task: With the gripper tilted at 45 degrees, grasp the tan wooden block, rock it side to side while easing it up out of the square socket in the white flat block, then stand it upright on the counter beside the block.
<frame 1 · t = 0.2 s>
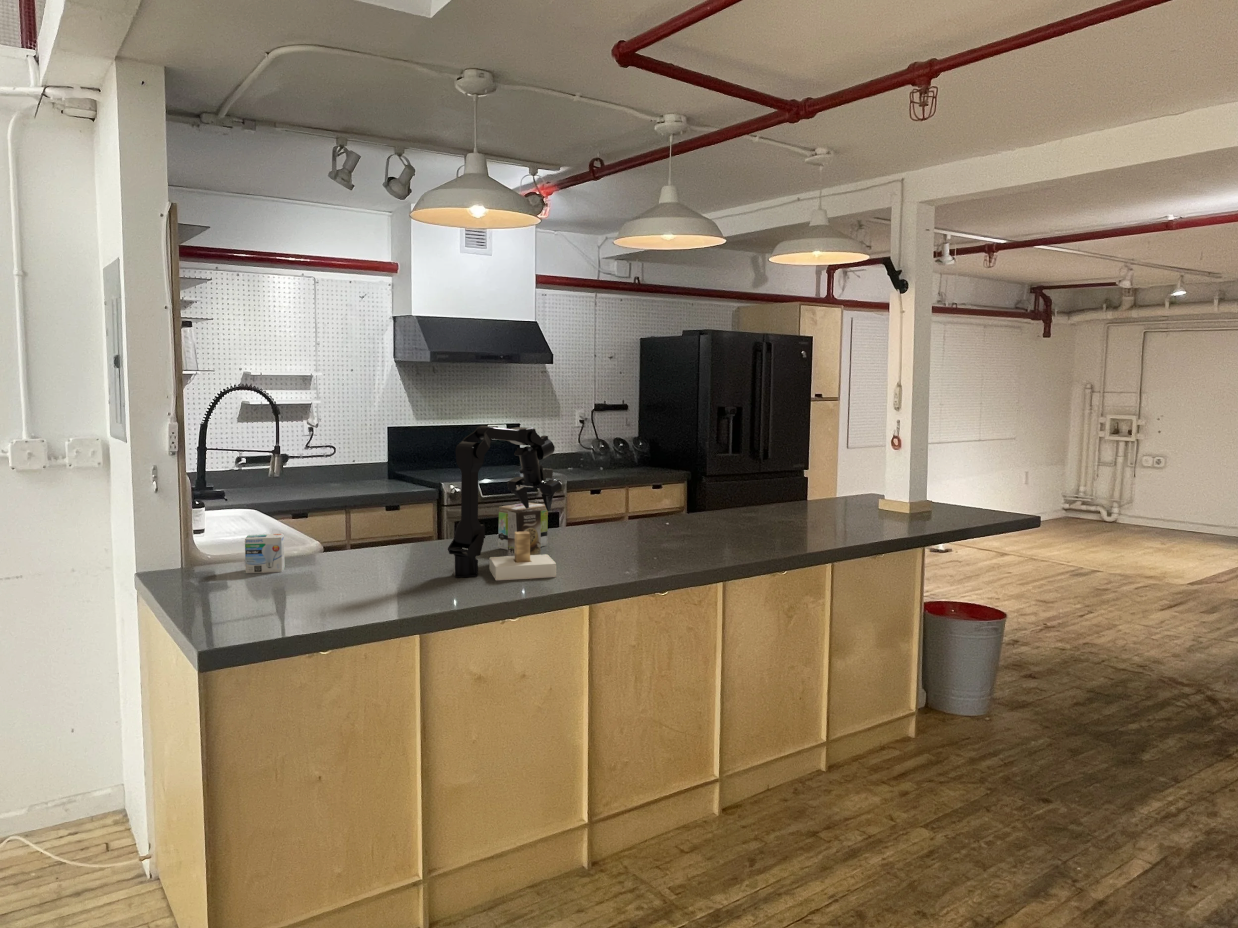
hand: (538, 509, 292), 16 cm above the countertop, tool pointing down, fingers open, 9 cm apart
coffee box: (524, 559, 288), on the countertop
light bulb box: (265, 571, 270), on the countertop
tan wooden block: (522, 553, 267), in the white flat block
white flat block: (522, 573, 268), on the countertop
tea box: (523, 547, 308), on the countertop
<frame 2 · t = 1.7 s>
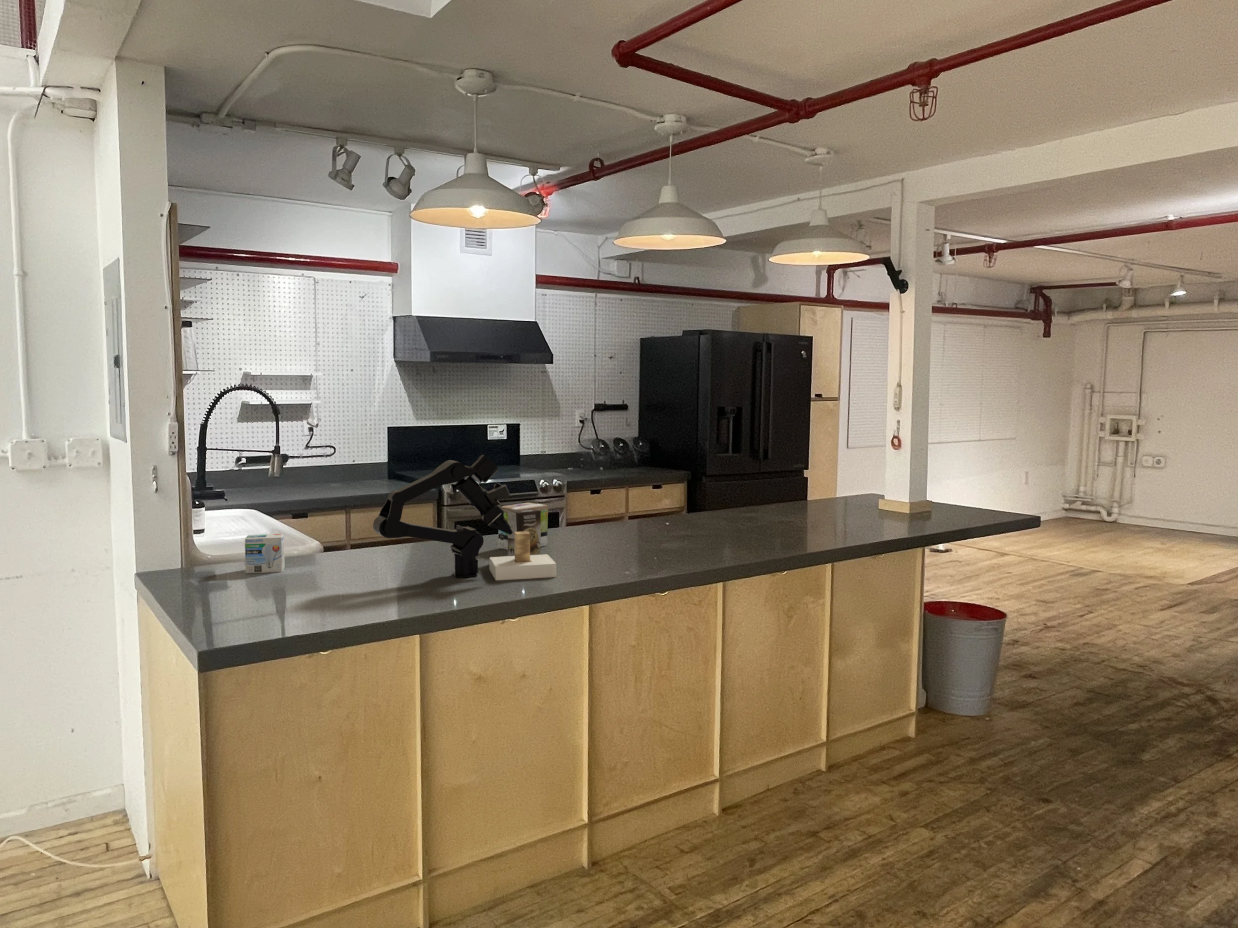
hand: (510, 531, 267), 13 cm above the countertop, tool tilted 45°, fingers open, 9 cm apart
nothing on the countertop moved.
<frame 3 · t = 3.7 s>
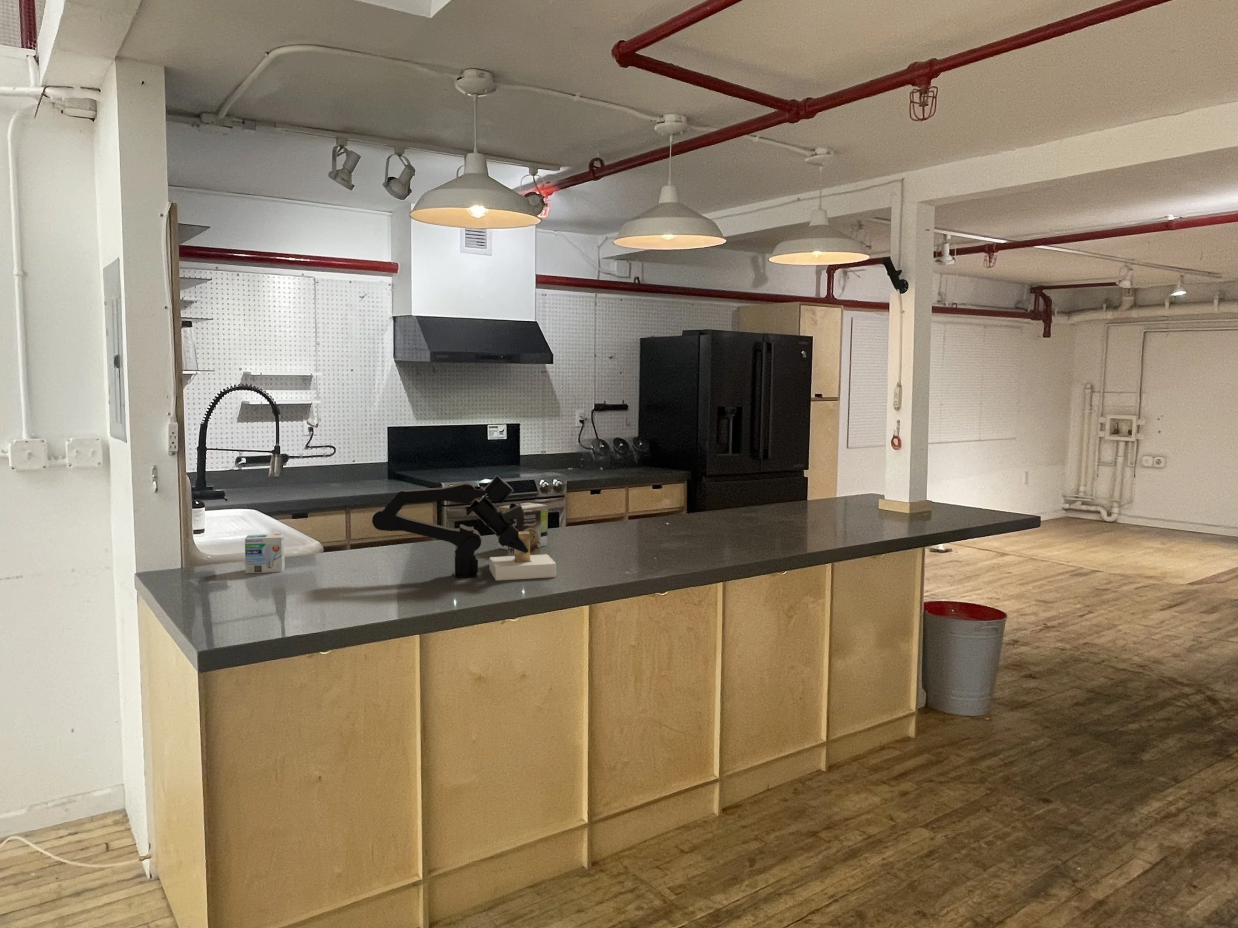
hand: (527, 550, 268), 7 cm above the countertop, tool tilted 45°, fingers closed on tan wooden block, 4 cm apart
tan wooden block: (522, 553, 267), in the white flat block, touching gripper
everything else where it was.
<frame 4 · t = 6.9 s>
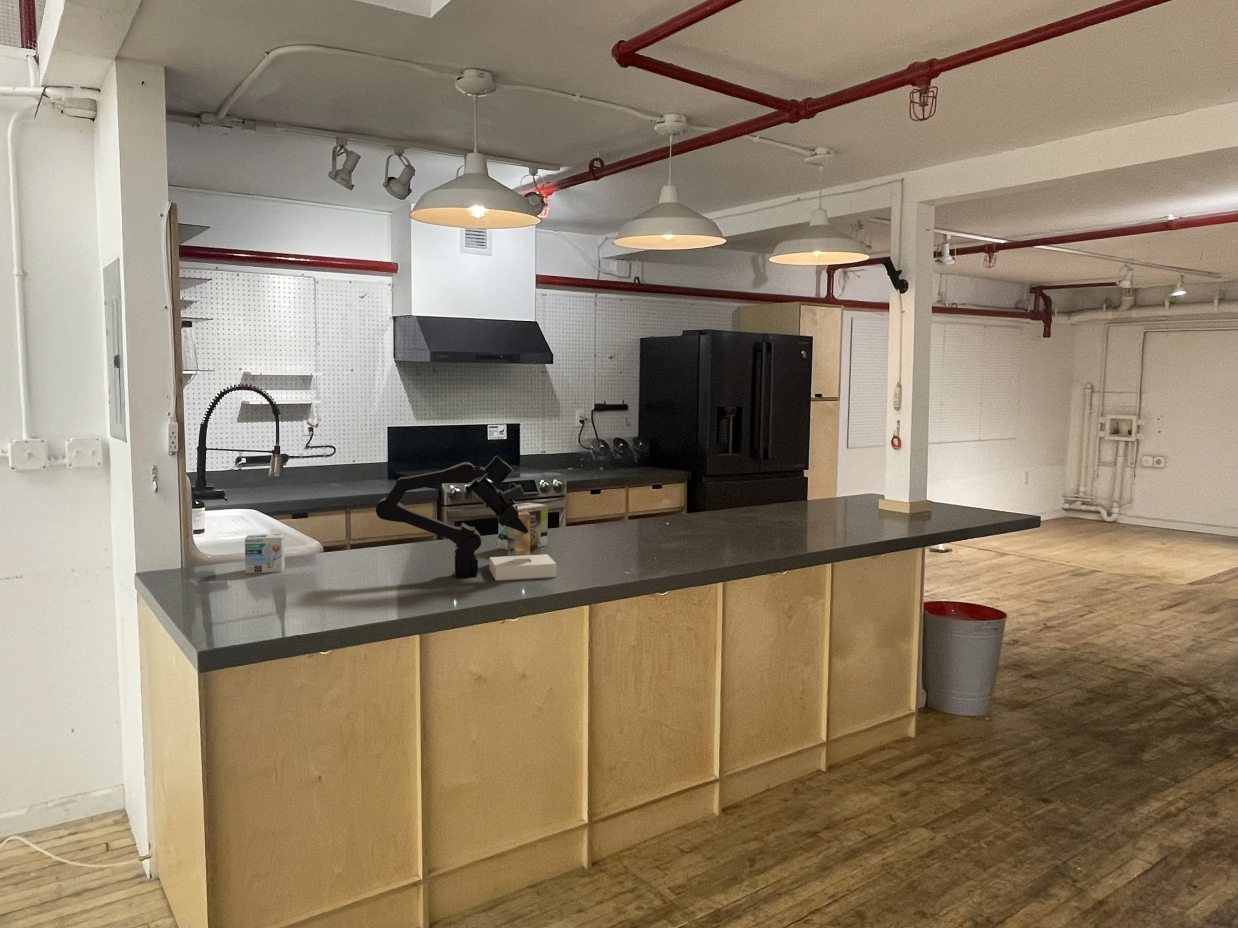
hand: (526, 530, 267), 13 cm above the countertop, tool tilted 45°, fingers closed on tan wooden block, 4 cm apart
tan wooden block: (522, 533, 267), point 12 cm above the countertop, touching gripper
everything else where it was.
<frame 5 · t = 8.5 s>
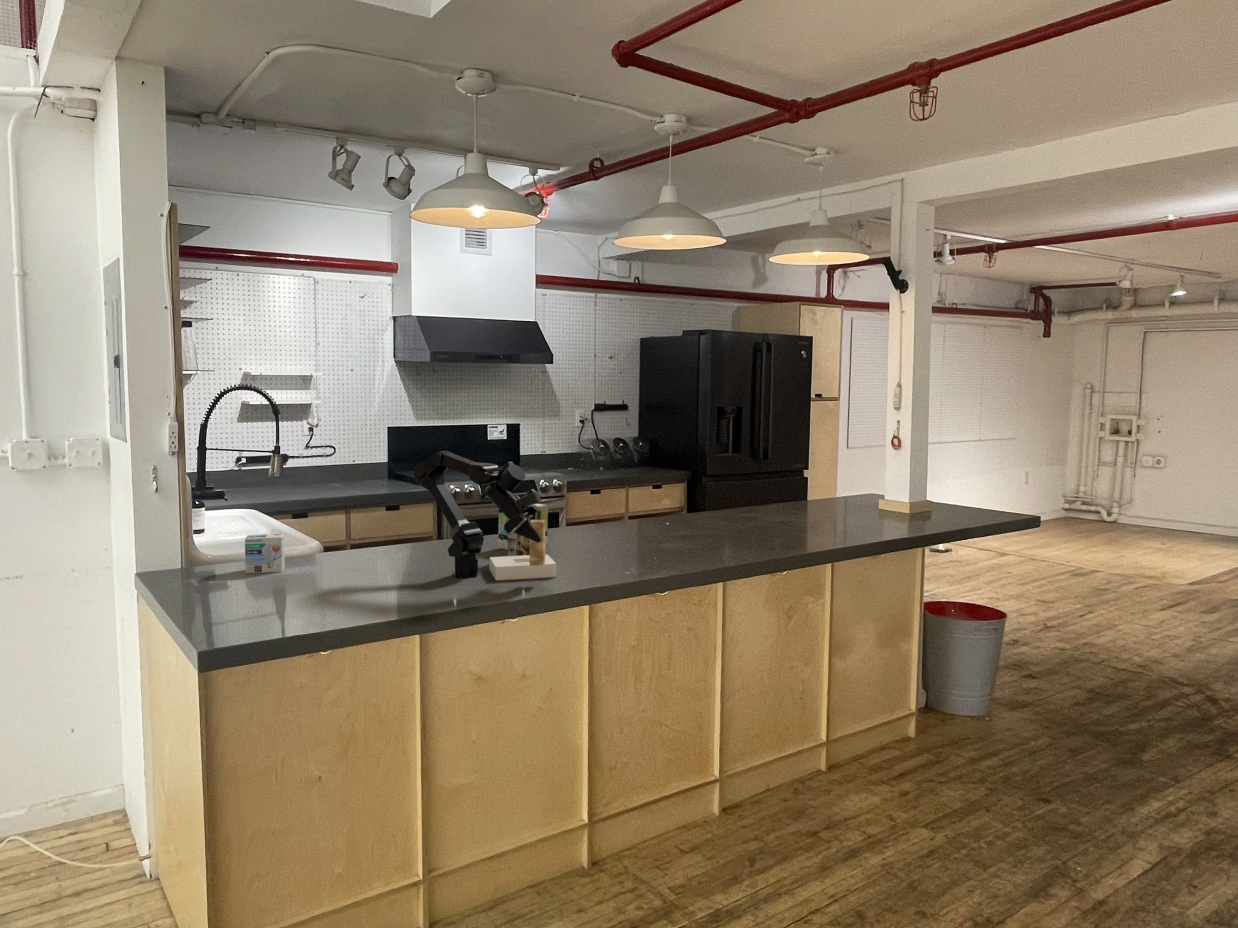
hand: (542, 539, 254), 13 cm above the countertop, tool tilted 45°, fingers closed on tan wooden block, 4 cm apart
tan wooden block: (537, 542, 254), point 12 cm above the countertop, touching gripper
everything else where it was.
when the fingers open (8 cm above the countertop, at t = 9.8 s): tan wooden block stays where it is, on the countertop.
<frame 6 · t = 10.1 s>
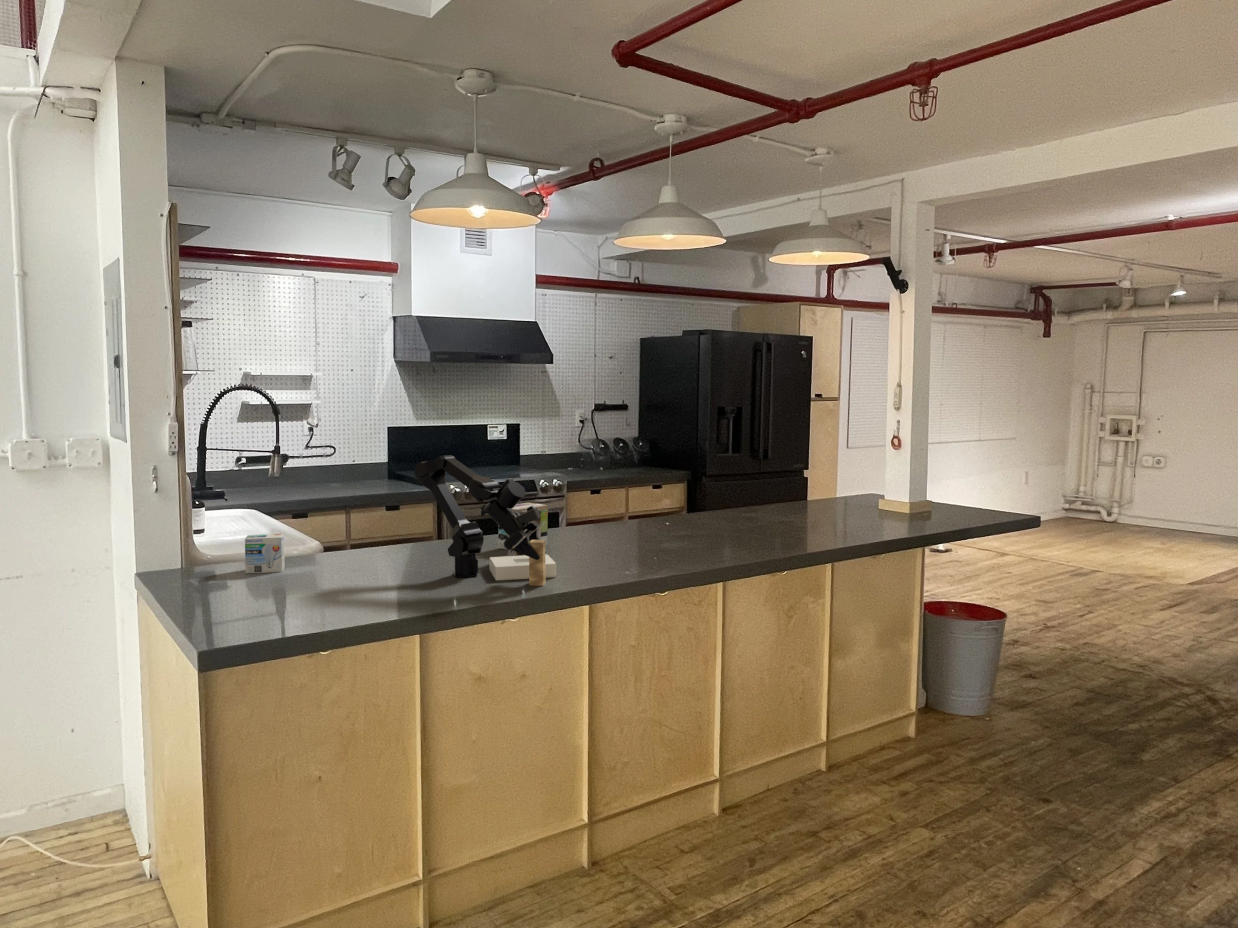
hand: (542, 556, 254), 8 cm above the countertop, tool tilted 45°, fingers open, 7 cm apart
tan wooden block: (537, 562, 255), on the countertop
everything else where it was.
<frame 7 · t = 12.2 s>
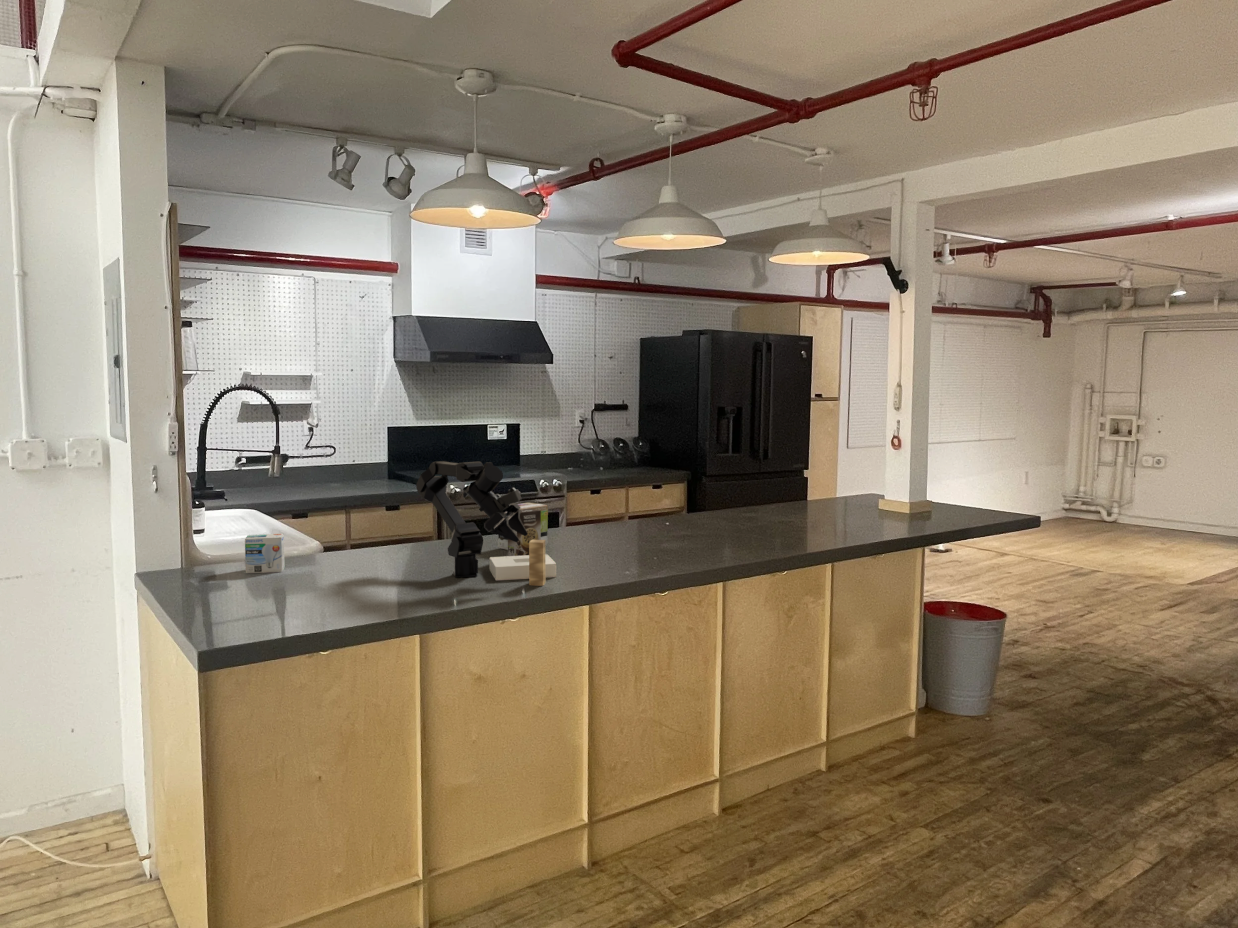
hand: (522, 538, 256), 13 cm above the countertop, tool tilted 45°, fingers open, 9 cm apart
nothing on the countertop moved.
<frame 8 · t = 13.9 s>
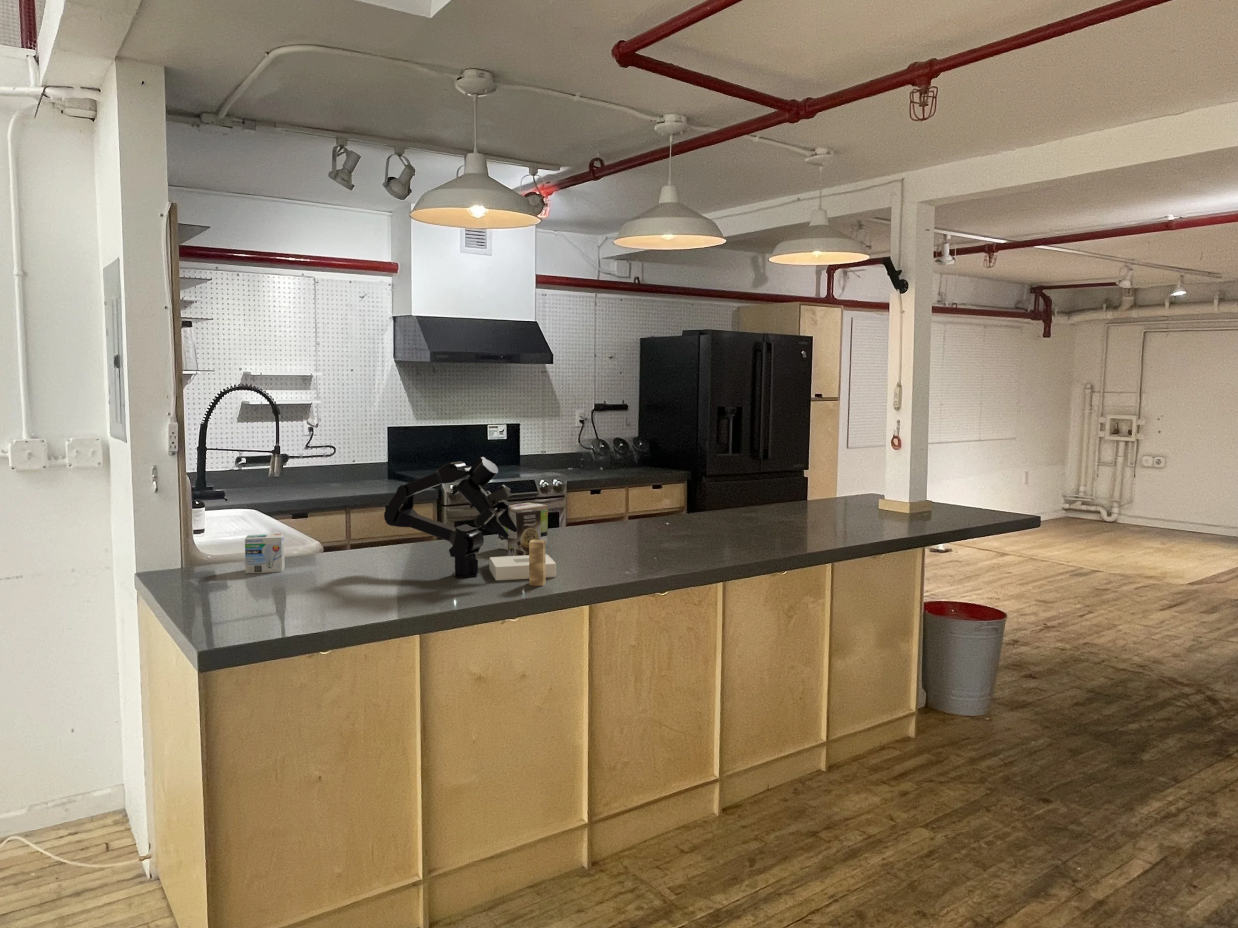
hand: (512, 533, 261), 13 cm above the countertop, tool tilted 45°, fingers open, 9 cm apart
nothing on the countertop moved.
at the end: tan wooden block inside the target area (0.0 cm from its centre), on the countertop; tan wooden block tilted 0°; the gripper is holding nothing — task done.
